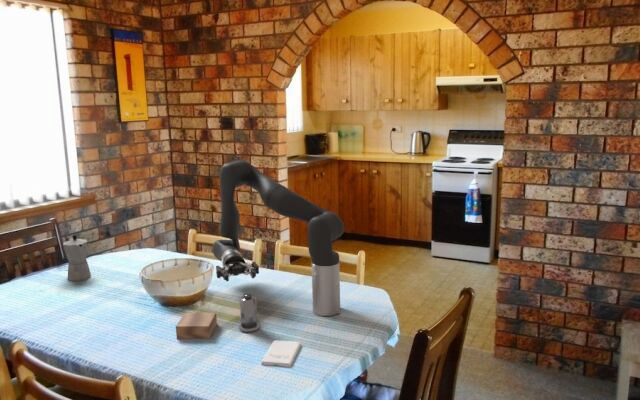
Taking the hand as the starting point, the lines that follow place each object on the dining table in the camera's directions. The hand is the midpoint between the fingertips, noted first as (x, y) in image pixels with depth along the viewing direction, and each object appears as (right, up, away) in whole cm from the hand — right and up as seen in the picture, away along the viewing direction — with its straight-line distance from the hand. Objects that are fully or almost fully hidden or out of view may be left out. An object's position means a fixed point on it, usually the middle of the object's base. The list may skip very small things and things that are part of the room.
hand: (240, 277), depth 174 cm
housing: (+4, -15, -8) cm, 17 cm away
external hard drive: (+15, -19, -25) cm, 35 cm away
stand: (-12, -16, -9) cm, 22 cm away
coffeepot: (-73, -6, +43) cm, 85 cm away
